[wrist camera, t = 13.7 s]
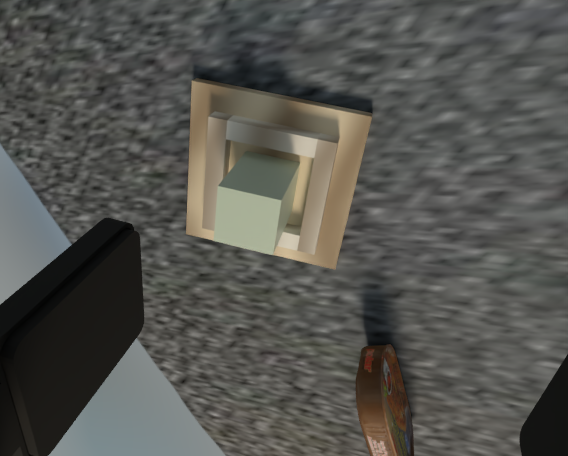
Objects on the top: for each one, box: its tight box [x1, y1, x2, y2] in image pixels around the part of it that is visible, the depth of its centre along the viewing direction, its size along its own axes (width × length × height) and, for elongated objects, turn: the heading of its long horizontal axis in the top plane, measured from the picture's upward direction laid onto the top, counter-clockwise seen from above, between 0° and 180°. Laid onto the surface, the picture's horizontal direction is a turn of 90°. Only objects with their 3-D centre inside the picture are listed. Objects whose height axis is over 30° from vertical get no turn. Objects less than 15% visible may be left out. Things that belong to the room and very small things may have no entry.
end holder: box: [186, 78, 373, 269], centre depth 39 cm, size 14×14×2 cm
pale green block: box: [214, 151, 300, 255], centre depth 36 cm, size 4×4×7 cm
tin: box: [356, 344, 414, 456], centre depth 45 cm, size 15×3×8 cm, turn 17°
